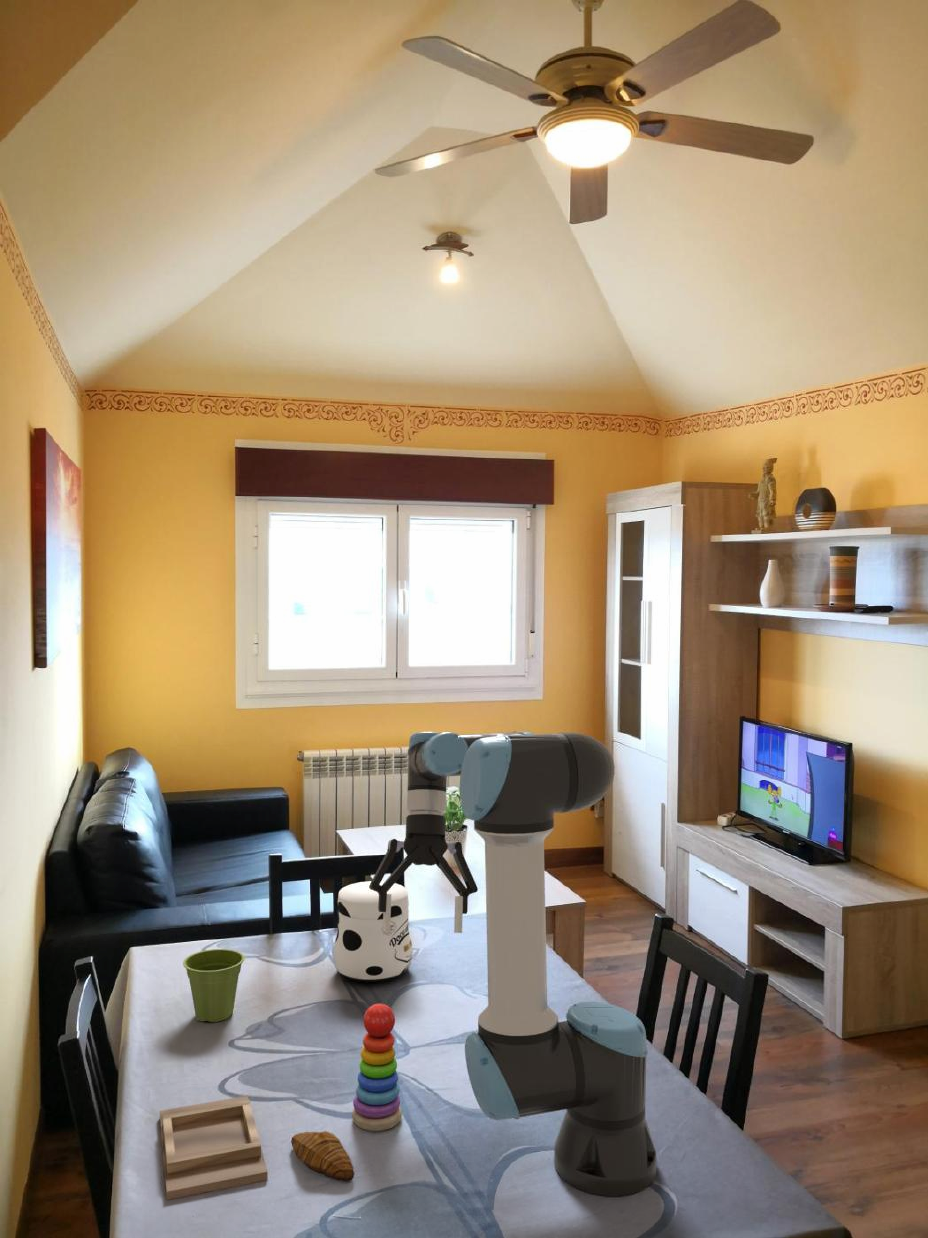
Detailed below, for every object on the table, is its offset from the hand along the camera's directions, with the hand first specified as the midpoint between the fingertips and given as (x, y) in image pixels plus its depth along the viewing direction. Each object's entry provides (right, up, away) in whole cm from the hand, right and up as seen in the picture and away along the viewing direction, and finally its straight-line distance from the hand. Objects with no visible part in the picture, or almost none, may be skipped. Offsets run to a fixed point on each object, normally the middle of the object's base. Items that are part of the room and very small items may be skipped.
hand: (422, 932), depth 182 cm
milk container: (-12, -20, +36) cm, 43 cm away
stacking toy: (-6, -23, -22) cm, 33 cm away
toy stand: (-31, -24, -30) cm, 49 cm away
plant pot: (-42, -21, +15) cm, 49 cm away
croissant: (-14, -24, -34) cm, 44 cm away
